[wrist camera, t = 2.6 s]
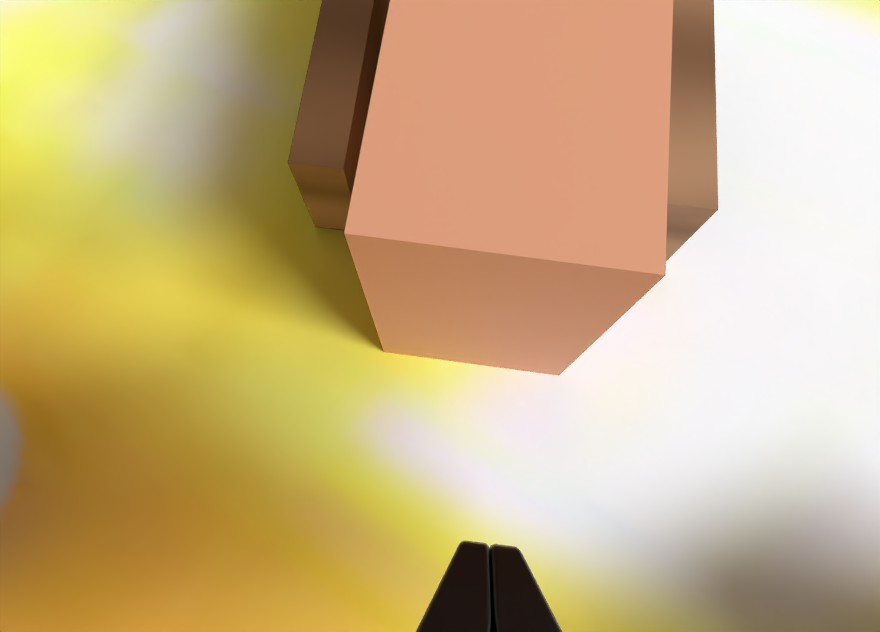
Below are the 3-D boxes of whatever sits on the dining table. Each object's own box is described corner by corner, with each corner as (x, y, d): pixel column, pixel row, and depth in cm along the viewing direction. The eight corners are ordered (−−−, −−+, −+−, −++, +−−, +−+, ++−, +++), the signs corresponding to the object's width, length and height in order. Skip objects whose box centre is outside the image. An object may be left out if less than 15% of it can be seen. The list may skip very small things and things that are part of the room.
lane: (662, 265, 20) (718, 209, 16) (315, 226, 20) (287, 162, 16) (664, -64, 24) (710, -172, 20) (376, -93, 24) (365, -205, 20)
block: (558, 376, 19) (665, 275, 10) (384, 352, 19) (343, 233, 10) (589, -27, 23) (682, -333, 15) (449, -43, 23) (460, -356, 15)
